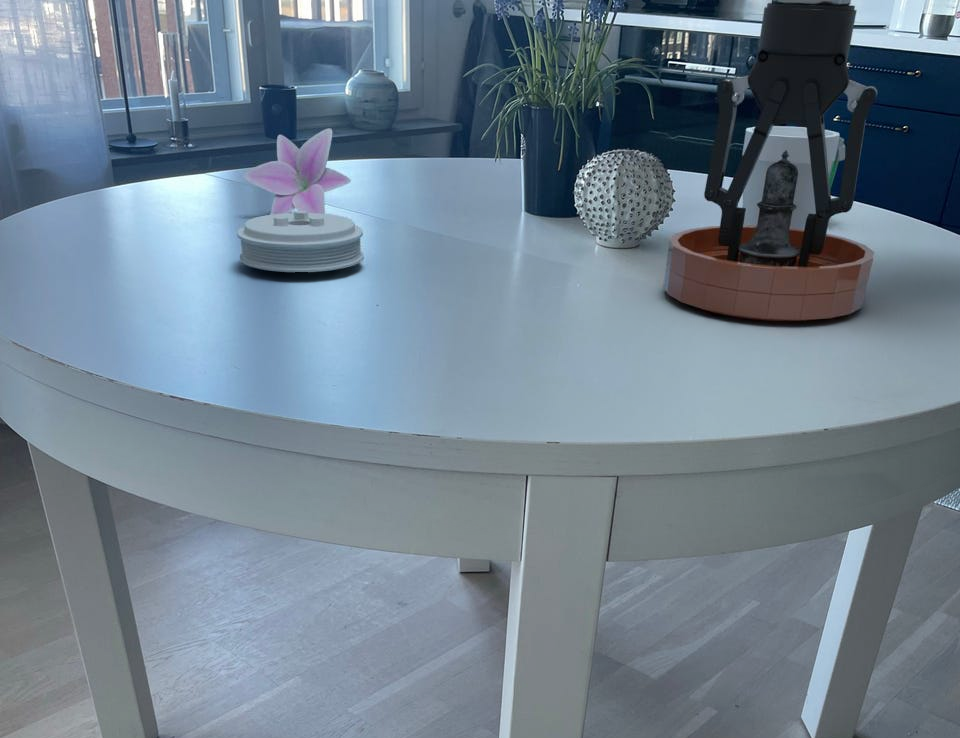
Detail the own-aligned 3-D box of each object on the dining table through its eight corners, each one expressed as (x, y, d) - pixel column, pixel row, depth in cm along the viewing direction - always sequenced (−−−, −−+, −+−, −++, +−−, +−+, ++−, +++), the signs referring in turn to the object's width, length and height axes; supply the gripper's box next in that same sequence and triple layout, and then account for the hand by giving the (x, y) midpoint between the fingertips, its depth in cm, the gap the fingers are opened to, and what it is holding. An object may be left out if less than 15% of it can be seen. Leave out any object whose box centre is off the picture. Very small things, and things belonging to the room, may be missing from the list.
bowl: (865, 287, 103) (877, 235, 100) (856, 336, 88) (869, 277, 85) (683, 269, 108) (689, 219, 105) (646, 312, 93) (652, 255, 90)
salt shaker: (779, 279, 100) (802, 145, 94) (804, 295, 95) (831, 154, 89) (722, 280, 99) (742, 145, 93) (746, 296, 95) (768, 155, 88)
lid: (215, 272, 103) (209, 219, 100) (287, 248, 112) (283, 200, 110) (321, 288, 98) (317, 233, 95) (386, 262, 108) (385, 211, 105)
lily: (240, 224, 128) (226, 157, 120) (302, 175, 133) (293, 107, 124) (311, 267, 125) (302, 201, 116) (373, 216, 130) (368, 149, 121)
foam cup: (760, 276, 106) (783, 139, 99) (709, 257, 113) (727, 127, 106) (832, 269, 109) (859, 135, 102) (778, 251, 116) (800, 125, 109)
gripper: (691, -3, 84) (658, 283, 97) (931, 4, 79) (863, 306, 92) (706, -3, 90) (673, 267, 103) (930, 3, 85) (867, 287, 98)
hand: (763, 284), depth 97 cm, fingers closed on salt shaker, 6 cm apart
